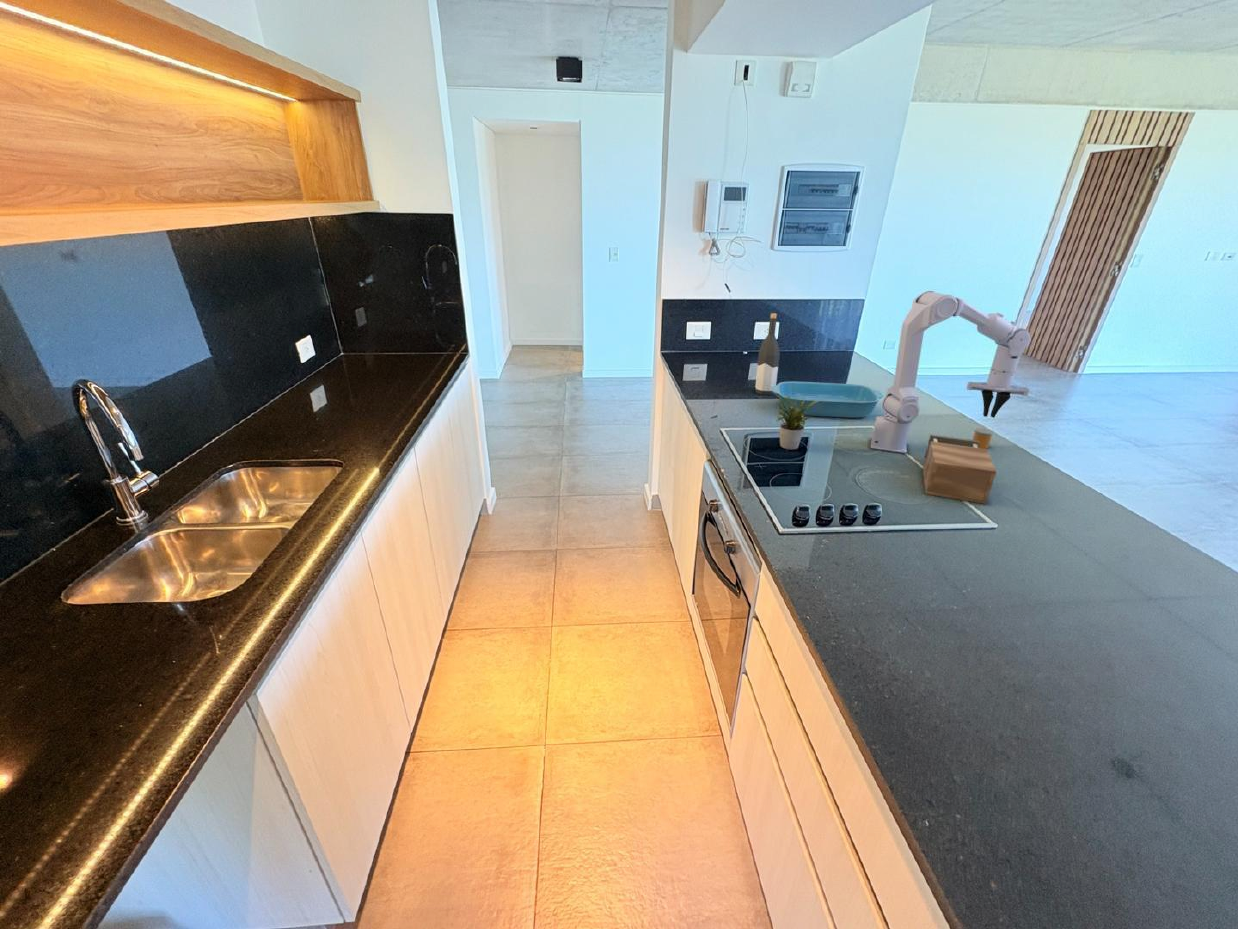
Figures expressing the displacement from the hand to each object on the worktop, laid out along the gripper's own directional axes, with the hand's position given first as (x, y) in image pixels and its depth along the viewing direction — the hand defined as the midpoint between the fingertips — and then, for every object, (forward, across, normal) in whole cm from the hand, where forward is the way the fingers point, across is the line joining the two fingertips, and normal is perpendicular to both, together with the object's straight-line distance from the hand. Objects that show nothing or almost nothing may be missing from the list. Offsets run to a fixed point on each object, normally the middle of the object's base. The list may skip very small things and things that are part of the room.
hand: (988, 416), depth 154 cm
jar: (+9, 0, 0) cm, 9 cm away
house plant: (+10, -53, -24) cm, 59 cm away
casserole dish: (+10, -46, +16) cm, 50 cm away
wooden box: (+9, -10, -34) cm, 37 cm away
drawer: (+9, -10, -23) cm, 26 cm away
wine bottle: (+10, -69, +29) cm, 75 cm away
